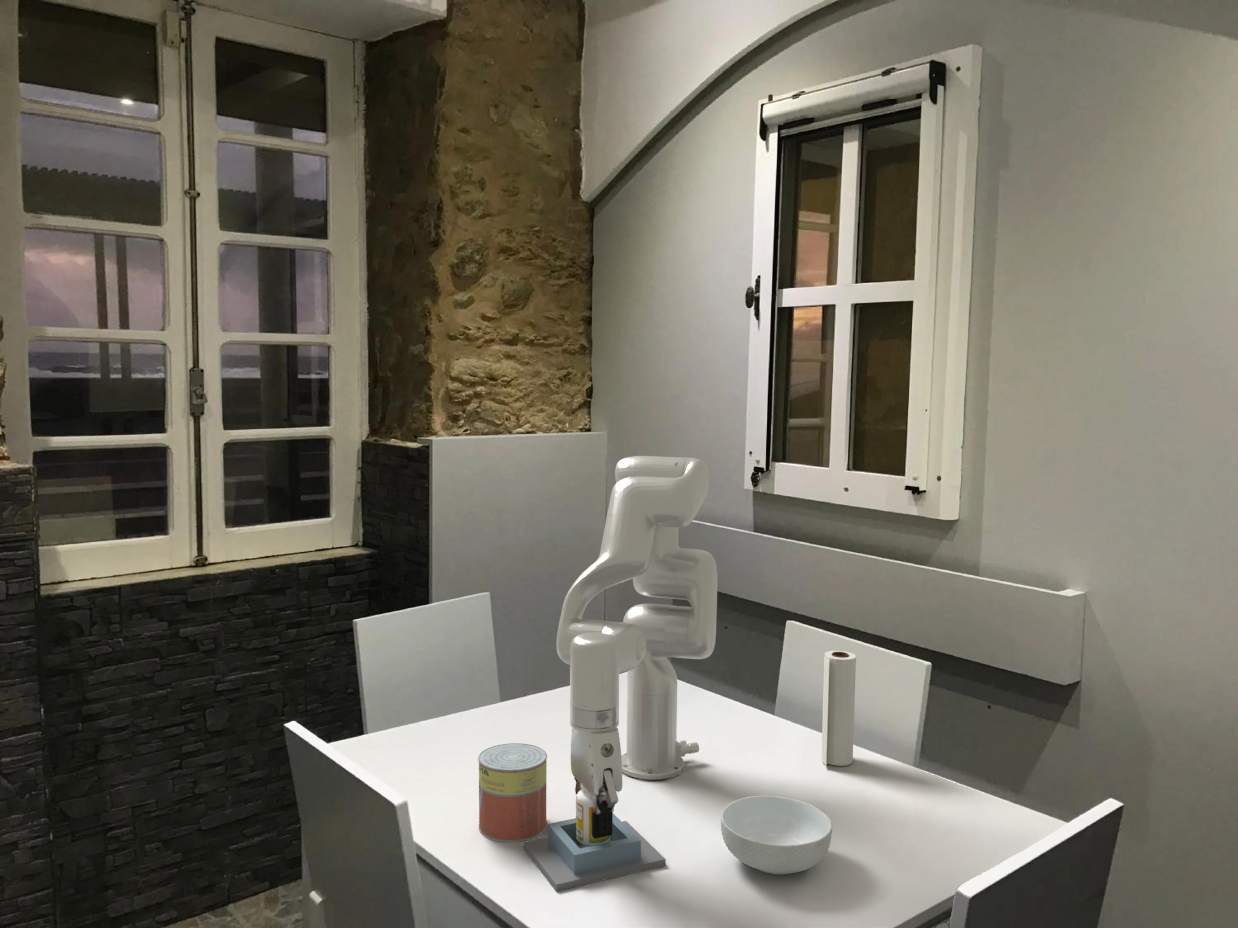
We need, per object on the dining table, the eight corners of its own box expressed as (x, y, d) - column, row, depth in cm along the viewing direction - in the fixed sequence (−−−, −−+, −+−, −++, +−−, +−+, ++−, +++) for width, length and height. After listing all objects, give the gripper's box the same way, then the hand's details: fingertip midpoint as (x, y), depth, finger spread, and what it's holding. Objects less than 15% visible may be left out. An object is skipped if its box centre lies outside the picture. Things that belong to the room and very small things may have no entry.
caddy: (625, 826, 161) (626, 803, 160) (665, 865, 148) (665, 840, 148) (523, 848, 153) (523, 823, 153) (556, 890, 141) (556, 864, 140)
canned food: (484, 809, 167) (484, 742, 165) (550, 811, 166) (550, 743, 165) (473, 841, 155) (472, 769, 154) (543, 842, 155) (543, 770, 154)
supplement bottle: (616, 834, 152) (617, 775, 151) (601, 850, 147) (601, 788, 146) (585, 827, 154) (586, 768, 153) (570, 842, 149) (570, 782, 148)
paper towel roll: (842, 753, 193) (845, 648, 191) (858, 764, 187) (862, 656, 185) (810, 757, 191) (813, 651, 189) (826, 769, 185) (829, 660, 183)
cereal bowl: (756, 900, 139) (757, 852, 138) (701, 847, 154) (701, 805, 153) (853, 876, 145) (855, 831, 145) (791, 828, 161) (792, 787, 160)
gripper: (641, 729, 143) (640, 847, 144) (594, 694, 158) (593, 800, 160) (594, 737, 139) (594, 857, 141) (551, 700, 155) (551, 809, 157)
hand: (593, 826), depth 150 cm, fingers closed on supplement bottle, 5 cm apart
